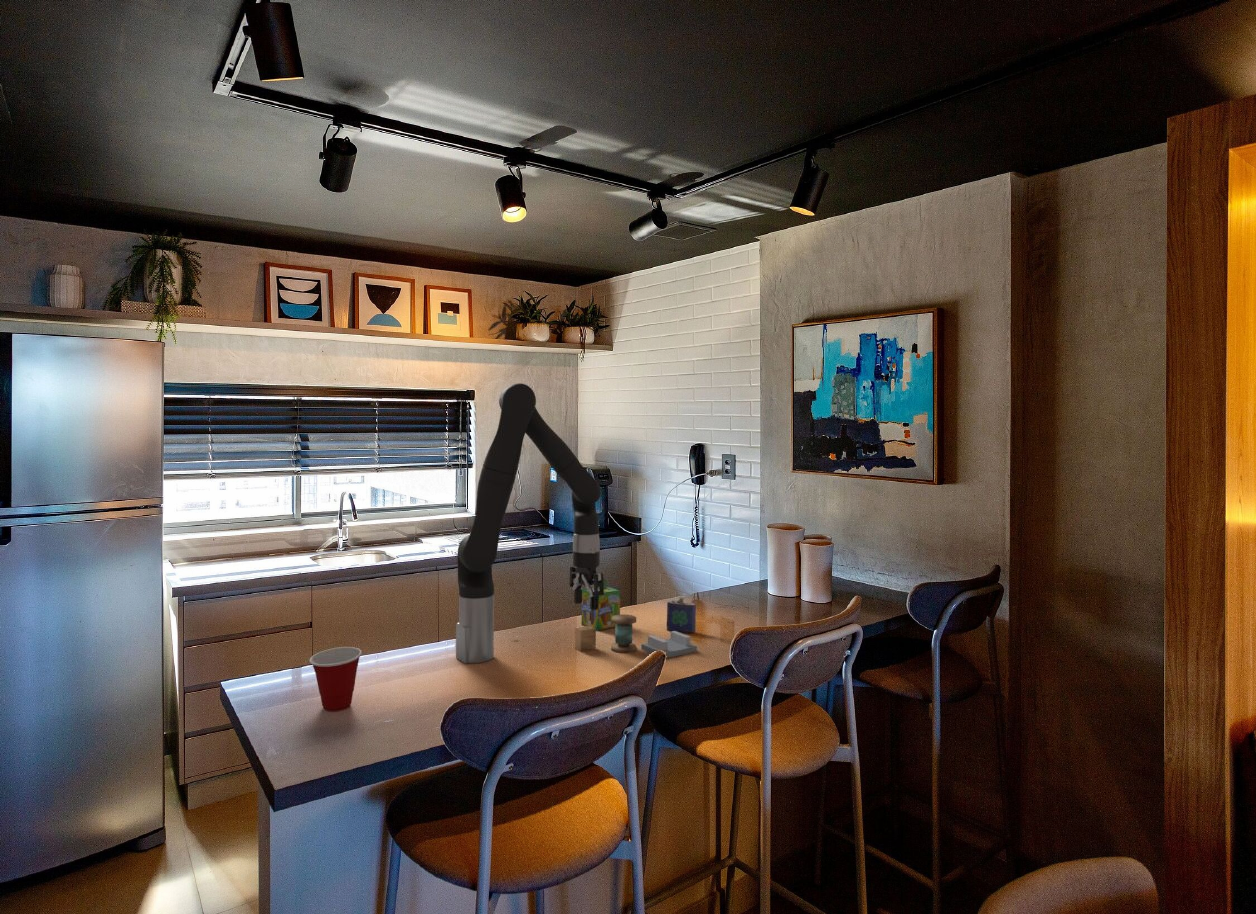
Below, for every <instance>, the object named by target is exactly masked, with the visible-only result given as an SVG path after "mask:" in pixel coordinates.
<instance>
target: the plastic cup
mask: <svg viewBox="0 0 1256 914" xmlns="http://www.w3.org/2000/svg"><path fill="white" fill-rule="evenodd" d="M362 652H363V651H362V650H361V649H360V648H359V647H358V648H357V647H353V646H342V647H341V646H340V647H333V648H328V649H325V650H322V651H319V652H317V653H315V654H313V655H312V656H311V657H310V658H309V663H310V664H311V665H312V668H313V670H314V673H315V677H316V683H317V687H318V688H317V689H318V691H319V696H320V700H321V706H322V709H323V710H324V711H326V712H331V713H332V712H340V711H344V710H347V709H349V708H350V707H351V705H352V702H353V701H352V700H353V695H354V690H355V685H356V678H357V671H358V667H359V662H360V657H361V655H362Z"/></svg>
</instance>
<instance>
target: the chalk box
mask: <svg viewBox="0 0 1256 914" xmlns="http://www.w3.org/2000/svg"><path fill="white" fill-rule="evenodd" d="M606 582H607V581H606V578H605V577H603V583H604V594H603V595H600V596H599V602H598V603H599V606H598V609H597V610H591V609H590V597H591V595H590V592H589V590H587V588H586V587H585V588H582V589H581V590H582V603H581V623H580V624H581V626H583V627H585V626H592V627H595V628H596V631H601V630H602V631H603V630H607V629H611V628H615V624H616V623H613V622H612V616H614V615H621V590H619V589H615V588H613V587H609V586H607V583H606ZM598 589H599V591H600V587H598ZM593 592H594V589H593Z"/></svg>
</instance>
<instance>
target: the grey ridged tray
mask: <svg viewBox="0 0 1256 914" xmlns="http://www.w3.org/2000/svg"><path fill="white" fill-rule="evenodd" d="M691 641H692V640H691V636H689V635H686V633H680V632H677V631H672V632H671V631H670V638H666V639H663V638H661V637H658V636H655V635H651V634H650V635H648V636H647V642H645V643H641V645H640V647H641V648H640V649H641V650H642V651H644V652H647V653H648V654H651V653H652V652H654V651H658V650H662V651H664V652H666V656H667V658H666V659H669V658H674V657H677V656H683V655H688V654H691V653H697V652H698V646H697V645H695V644H692V643H691ZM668 657H669V658H668Z"/></svg>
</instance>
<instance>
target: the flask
mask: <svg viewBox="0 0 1256 914" xmlns="http://www.w3.org/2000/svg"><path fill="white" fill-rule="evenodd" d="M678 599H679V600H675V599H673V600H668V601H667V604H666V606H667V607H666V631H667V632H670V633H671V632H672V631H677V632H679V633H682V634H691V635H692V634H695V633H696V630H697V629H696V625H697V623H696V616H697V614H696V613H697V612H696V611H697V605H696V604H695V603H692V602H690V603H689V602H684V599H685V597H683V596H682V597H680V596H679V597H678Z"/></svg>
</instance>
